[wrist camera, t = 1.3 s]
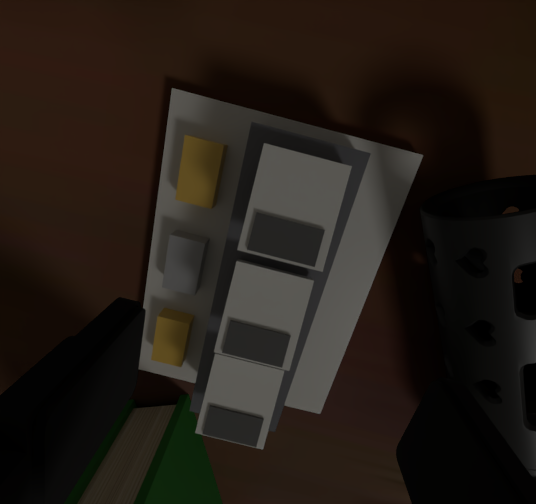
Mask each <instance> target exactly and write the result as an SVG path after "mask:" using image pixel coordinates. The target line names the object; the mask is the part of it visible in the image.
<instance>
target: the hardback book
mask: <svg viewBox="0 0 536 504" xmlns="http://www.w3.org/2000/svg"><path fill="white" fill-rule="evenodd" d="M190 406H191V401H190V398H189V394H186V395H180V397H179V400H178V402H177V404H176V405H167V406H156V407H145V408H137V405H136V403H135V400H134V399H132V400H128V402H127V404H126V405H125V407H124V408H123V410H122V412H121V413H120V415H119V416H118V418H117V420H116V421H115V423H114V424H113V426H112V428H111V429H110V431H109V432H108V434H107V436H106V437H105V439H104V440H103V442H102V444H101V445H100V447H99V448H98V450H97V452H96V453H95V455H94V456H93V458H92V460H91V461H90V463H89V464H88V466H87V468H86V469H85V471H84V472H83V474H82V475H81V477H80V479H79V480H78V482H77V483H76V485H75V487H74V488H73V490H72V491H71V493H70V495H69V496H68V498H67V499H66V501H65V503H64V504H222V500H221V497H220V494H219V490H218V487H217V484H216V481H215V478H214V474H213V471H212V468H211V465H210V462H209V458H208V455H207V452H206V449H205V446H204V442H203V439H202V436H201V434H197V433H195V431H196V427H197V420H196V417H195V414H194V412H192V411H189V410H190Z"/></svg>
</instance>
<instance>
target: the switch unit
mask: <svg viewBox="0 0 536 504" xmlns="http://www.w3.org/2000/svg"><path fill="white" fill-rule="evenodd" d="M264 143H266V144H270V145H273V146H277V147H281V148H285V149H288V150H292V151H296V152H300V153H304V154H307V155H311V156H315V157H319V158H322V159H326V160H330V161H334V162H337V163H341V164H345V165H349V166H352V168H351V171H350V175H349V179H348V182H347V186H346V189H345V193H344V197H343V200H342V204H341V207H340V211H339V215H338V218H337V222H336V225H335V229H334V233H333V236H332V240H331V243H330V247H329V251H328V254H327V258H326V261H325V265H324V269H323V272H321V271H317V270H313V269H309V268H305V267H301V266H297V265H293V264H290V263H286V262H282V261H278V260H274V259H270V258H266V257H262V256H259V255H255V254H251V253H247V252H243V251H239V250H237V249H238V245H239V241H240V237H241V233H242V229H243V225H244V221H245V217H246V213H247V209H248V205H249V201H250V197H251V193H252V189H253V185H254V181H255V177H256V173H257V169H258V165H259V161H260V157H261V153H262V149H263V145H264ZM422 157H423V155H421V154H417V153H413V152H410V151H406V150H402V149H398V148H395V147H391V146H387V145H384V144H380V143H376V142H372V141H369V140H365V139H361V138H357V137H354V136H350V135H346V134H342V133H339V132H335V131H331V130H327V129H324V128H320V127H316V126H312V125H309V124H305V123H301V122H298V121H294V120H290V119H286V118H283V117H279V116H275V115H271V114H268V113H264V112H260V111H256V110H253V109H249V108H245V107H241V106H238V105H234V104H230V103H227V102H223V101H219V100H215V99H212V98H208V97H204V96H200V95H197V94H193V93H189V92H185V91H182V90H178V89H174V88H172V91H171V99H170V107H169V114H168V122H167V130H166V137H165V145H164V152H163V160H162V168H161V175H160V183H159V191H158V198H157V206H156V213H155V221H154V229H153V236H152V244H151V252H150V259H149V267H148V274H147V282H146V290H145V297H144V305H143V308H144V309H145V310H146V314H145V322H144V330H143V338H142V345H141V353H140V361H139V368H138V369H140V370H144V371H148V372H152V373H156V374H160V375H164V376H168V377H172V378H176V379H180V380H184V381H188V382H192V383H195V387H194V392H193V396H192V401H191V406H190V410H189V411H192V412H196V413H200V412H201V408H202V404H203V400H204V396H205V392H206V388H207V384H208V380H209V376H210V372H211V368H212V364H213V360H214V356H215V352H214V349H215V345H216V341H217V337H218V333H219V329H220V325H221V321H222V317H223V313H224V309H225V305H226V301H227V297H228V293H229V289H230V285H231V281H232V277H233V273H234V269H235V265H236V261H237V260H238V259H240V260H244V261H248V262H252V263H256V264H260V265H264V266H268V267H272V268H275V269H279V270H283V271H287V272H291V273H295V274H299V275H303V276H307V277H310V278H312V279H313V280H314V283H313V287H312V291H311V294H310V298H309V301H308V305H307V309H306V312H305V316H304V320H303V323H302V327H301V330H300V334H299V338H298V341H297V345H296V349H295V352H294V356H293V359H292V363H291V367H290V370H289V371H287V370H284V375H283V378H282V382H281V386H280V389H279V393H278V396H277V400H276V404H275V407H274V411H273V415H272V418H271V422H270V426H269V429H268V430H269V431H273V432H275V430H276V427H277V424H278V421H279V418H280V415H281V413H282V410H283V407H284V405H285V406H289V407H293V408H297V409H301V410H305V411H309V412H313V413H317V414H320V413H321V410H322V408H323V405H324V403H325V400H326V398H327V395H328V393H329V390H330V388H331V385H332V383H333V380H334V378H335V375H336V373H337V370H338V368H339V365H340V363H341V360H342V358H343V355H344V353H345V350H346V348H347V345H348V343H349V340H350V338H351V335H352V333H353V330H354V328H355V325H356V323H357V320H358V318H359V315H360V313H361V310H362V308H363V305H364V303H365V300H366V298H367V295H368V293H369V290H370V288H371V285H372V283H373V280H374V278H375V275H376V273H377V270H378V268H379V265H380V263H381V260H382V258H383V255H384V253H385V250H386V248H387V245H388V243H389V240H390V238H391V235H392V233H393V230H394V228H395V225H396V223H397V220H398V218H399V215H400V213H401V210H402V208H403V205H404V203H405V200H406V198H407V195H408V193H409V190H410V188H411V185H412V183H413V180H414V178H415V175H416V173H417V170H418V168H419V165H420V162H421V160H422Z"/></svg>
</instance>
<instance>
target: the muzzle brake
mask: <svg viewBox="0 0 536 504" xmlns="http://www.w3.org/2000/svg"><path fill="white" fill-rule="evenodd" d="M510 206H514V207H517V208H518V209H519V212H514V213H508V214H502V213H503V212H504V211H505V209H506V208H508V207H510ZM420 215H421V221H422V227H423V233H424V239H425V245H426V251H427V257H428V263H429V270H430V276H431V282H432V288H433V294H434V300H435V306H436V312H437V318H438V325H439V331H440V337H441V343H442V349H443V355H444V361H445V367H446V373H447V379H451V380H455V381H459V382H462V383H463V384H464V385H465V386H466V387H467V388H468V390H469V391H470V392H471V394H472V395H473V396H474V398H475V399H476V401H477V402H478V403H479V405H480V406H481V407H482V409H483V410H484V412H485V413H486V414H487V416H488V417H489V418H490V420H491V421H492V423H493V424H494V425H495V427H496V428H497V429H498V431H499V432H500V434H501V435H502V436H503V438H504V439H505V440H506V442H507V443H508V445H509V446H510V447H511V449H512V450H513V451H514V453H515V454H516V456H517V457H518V458H519V460H520V461H521V462H522V464H523V465H524V466H525V468H526V469H527V471H528V472H529V473H530V475H531V476H532V477H533V479H534V480H535V482H536V175H525V176H514V177H506V178H498V179H492V180H487V181H482V182H477V183H472V184H469V185H465V186H461V187H458V188H454V189H451V190H447V191H445V192H442V193H439V194H437V195H435V196H433V197H431V198H430V199H428V200H426V201H425V202H424V203H423V204H422V205H421V207H420ZM517 268H519V269H521V270H522V271H523V272H522V274H521V279H522V281H523V282H522V283H515V282H514V272H515V270H516V269H517Z"/></svg>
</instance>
